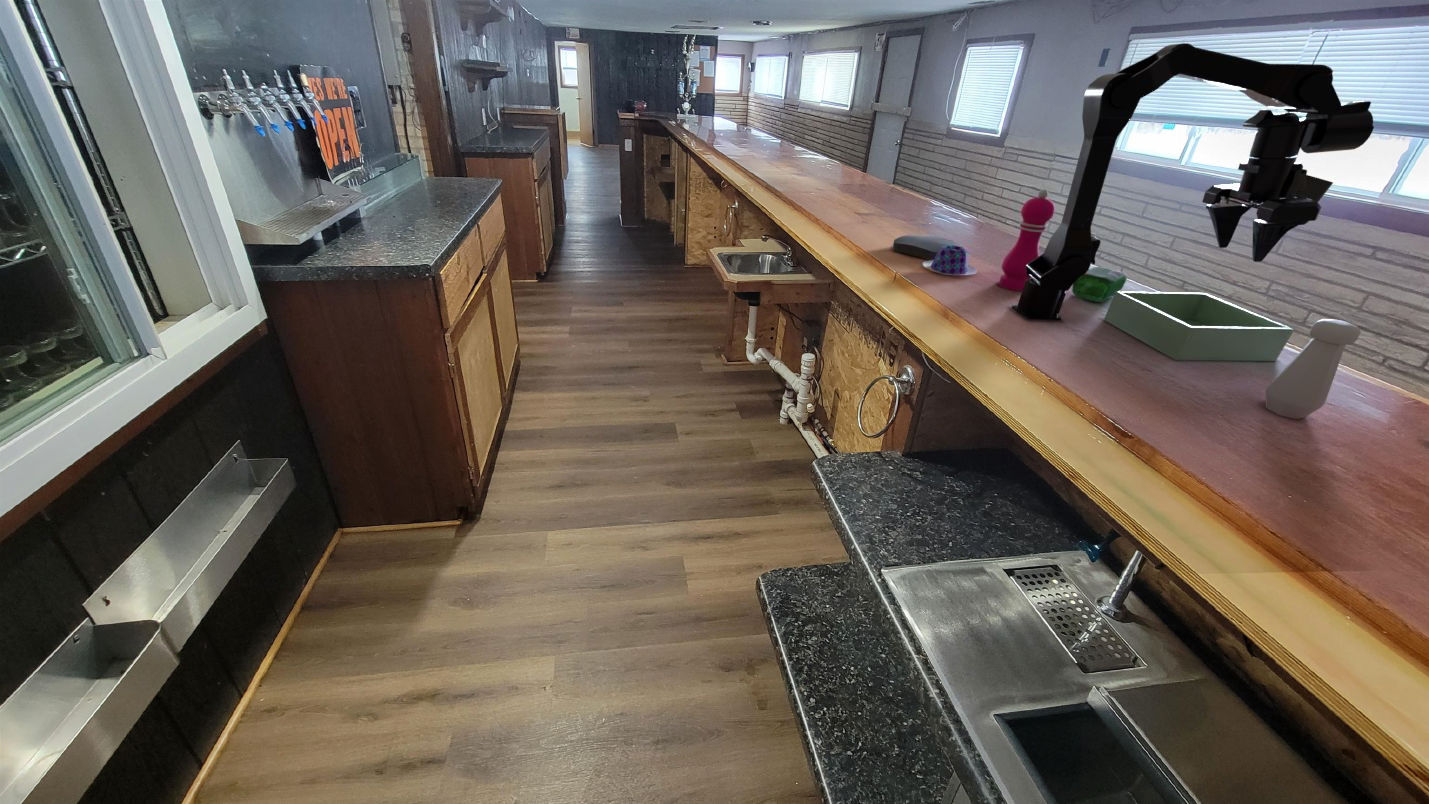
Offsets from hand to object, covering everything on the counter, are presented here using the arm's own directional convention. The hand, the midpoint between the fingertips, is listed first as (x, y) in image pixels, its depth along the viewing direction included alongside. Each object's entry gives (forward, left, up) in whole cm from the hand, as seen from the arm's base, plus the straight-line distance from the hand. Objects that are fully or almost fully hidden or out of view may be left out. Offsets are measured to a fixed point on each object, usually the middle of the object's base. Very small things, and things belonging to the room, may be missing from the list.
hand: (1239, 254), depth 97 cm
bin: (-7, -5, -14) cm, 16 cm away
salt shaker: (-13, -30, -14) cm, 36 cm away
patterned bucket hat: (-33, +34, -14) cm, 50 cm away
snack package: (-8, +18, -14) cm, 25 cm away
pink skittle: (-23, +23, -14) cm, 36 cm away
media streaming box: (-32, +50, -14) cm, 62 cm away
